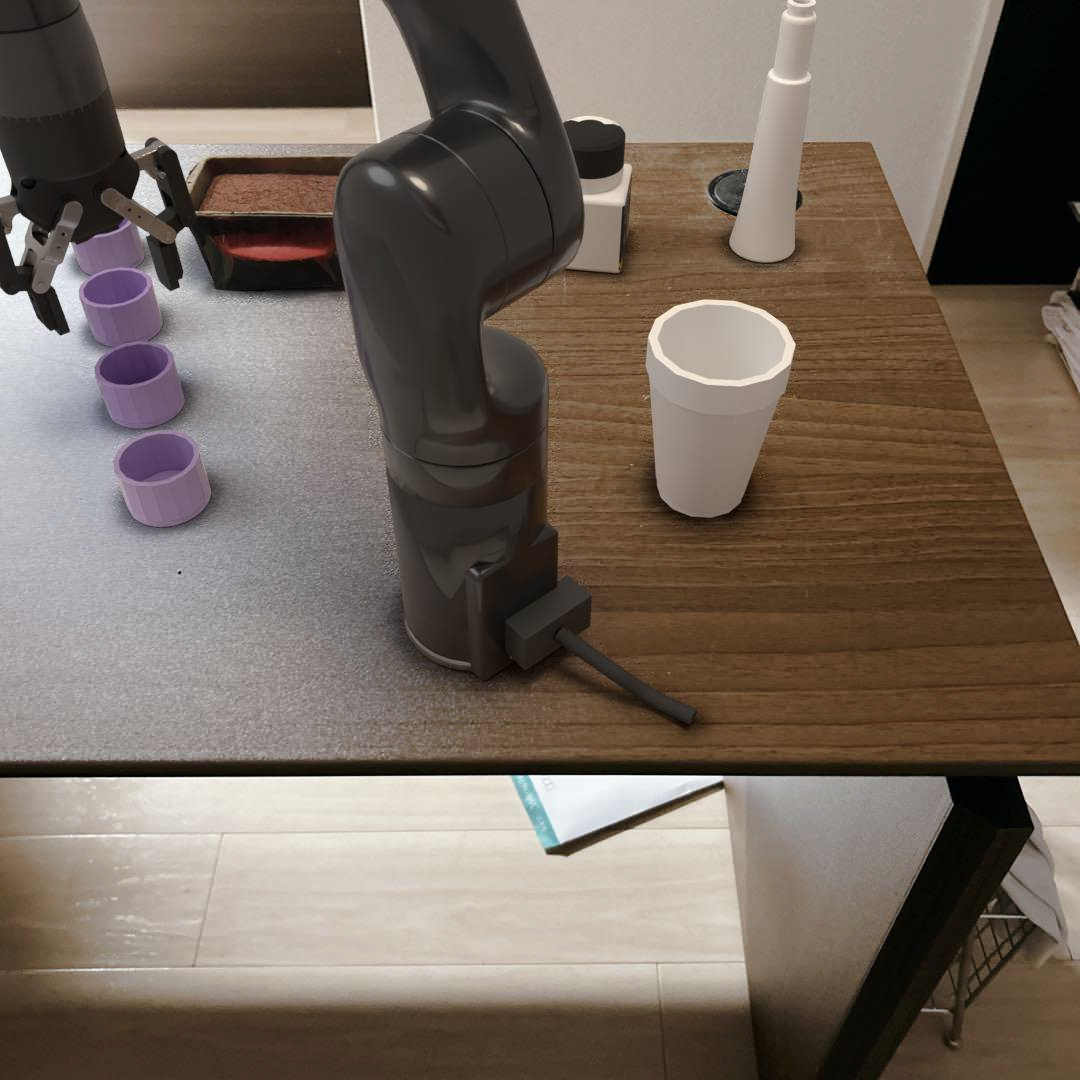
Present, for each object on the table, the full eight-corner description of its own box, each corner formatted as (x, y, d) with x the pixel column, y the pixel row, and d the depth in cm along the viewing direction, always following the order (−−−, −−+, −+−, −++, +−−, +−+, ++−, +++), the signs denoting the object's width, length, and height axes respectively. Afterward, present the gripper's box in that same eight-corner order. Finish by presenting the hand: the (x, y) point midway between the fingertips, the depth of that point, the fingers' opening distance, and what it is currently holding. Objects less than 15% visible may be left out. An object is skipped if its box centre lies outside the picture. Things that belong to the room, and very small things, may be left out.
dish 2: (198, 407, 88) (186, 366, 86) (130, 439, 86) (115, 398, 83) (163, 372, 92) (150, 332, 89) (96, 402, 89) (81, 361, 86)
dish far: (156, 261, 103) (145, 221, 100) (96, 284, 100) (83, 244, 97) (127, 235, 106) (115, 196, 103) (68, 257, 103) (55, 218, 100)
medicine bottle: (620, 275, 101) (628, 149, 93) (541, 268, 102) (542, 142, 94) (628, 233, 106) (636, 110, 98) (553, 227, 107) (555, 104, 98)
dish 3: (225, 501, 81) (214, 460, 78) (152, 539, 79) (137, 498, 76) (186, 460, 84) (174, 419, 81) (114, 495, 82) (99, 454, 79)
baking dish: (238, 226, 111) (199, 133, 103) (413, 210, 108) (386, 113, 100) (198, 321, 102) (152, 227, 94) (388, 306, 99) (356, 208, 91)
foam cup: (728, 433, 86) (752, 288, 77) (789, 512, 80) (822, 365, 71) (615, 463, 84) (625, 317, 75) (669, 546, 78) (687, 400, 69)
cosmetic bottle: (784, 269, 102) (830, 20, 86) (720, 254, 104) (754, 8, 88) (801, 236, 106) (848, -8, 90) (739, 223, 108) (774, -19, 92)
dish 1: (175, 329, 96) (164, 289, 93) (111, 356, 93) (97, 315, 90) (143, 299, 99) (131, 259, 96) (80, 324, 96) (66, 284, 93)
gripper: (-48, 142, 65) (44, 370, 76) (176, 72, 71) (229, 292, 83) (-93, 99, 69) (0, 322, 81) (122, 37, 75) (180, 251, 87)
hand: (116, 306), depth 82 cm, fingers open, 8 cm apart
